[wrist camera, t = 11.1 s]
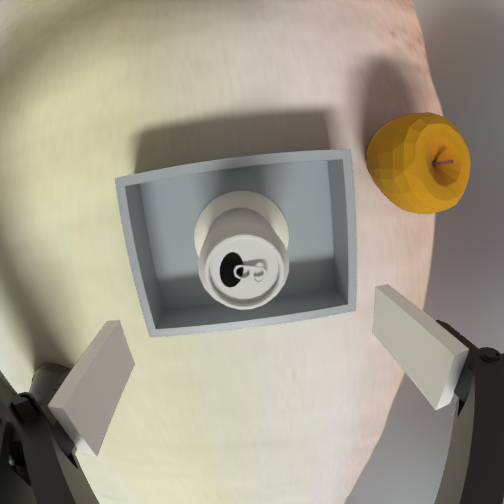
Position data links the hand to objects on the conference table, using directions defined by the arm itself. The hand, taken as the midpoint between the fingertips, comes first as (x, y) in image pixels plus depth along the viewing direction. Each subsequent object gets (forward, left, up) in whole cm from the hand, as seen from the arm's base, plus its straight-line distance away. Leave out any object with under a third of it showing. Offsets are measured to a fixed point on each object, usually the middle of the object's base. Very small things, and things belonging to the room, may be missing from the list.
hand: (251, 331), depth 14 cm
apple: (+20, +8, -22) cm, 31 cm away
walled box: (0, 0, -22) cm, 22 cm away
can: (0, 0, -21) cm, 21 cm away
